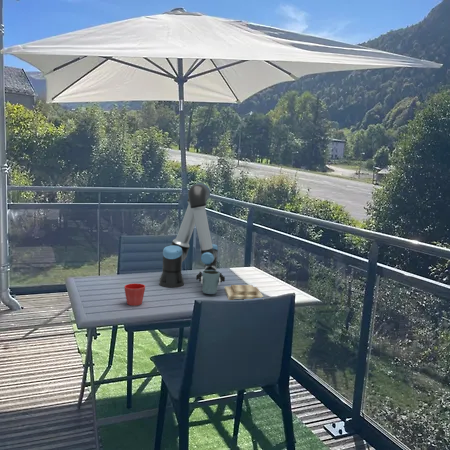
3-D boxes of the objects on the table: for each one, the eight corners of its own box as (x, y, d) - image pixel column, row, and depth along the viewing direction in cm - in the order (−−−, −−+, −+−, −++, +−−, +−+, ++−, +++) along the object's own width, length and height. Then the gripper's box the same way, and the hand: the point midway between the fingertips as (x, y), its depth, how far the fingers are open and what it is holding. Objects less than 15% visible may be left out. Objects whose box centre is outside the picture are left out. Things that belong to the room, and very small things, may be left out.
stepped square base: (228, 299, 254) (229, 292, 254) (224, 289, 274) (224, 283, 274) (263, 300, 257) (263, 293, 257) (256, 290, 277) (256, 283, 276)
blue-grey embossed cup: (199, 293, 258) (200, 272, 257) (203, 288, 268) (204, 268, 267) (216, 295, 257) (218, 274, 255) (219, 290, 267) (221, 270, 265)
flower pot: (121, 301, 242) (122, 284, 240) (141, 299, 247) (141, 282, 246) (127, 307, 233) (127, 289, 231) (147, 305, 238) (147, 287, 236)
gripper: (227, 279, 281) (229, 289, 258) (192, 276, 279) (190, 287, 257) (228, 267, 279) (230, 276, 257) (193, 265, 278) (191, 274, 256)
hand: (210, 282), depth 257 cm, fingers closed on blue-grey embossed cup, 9 cm apart
